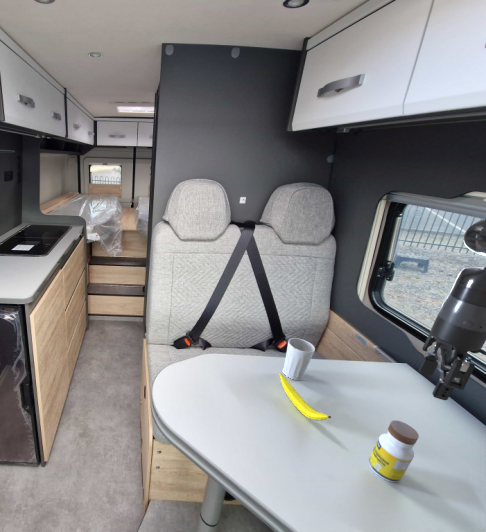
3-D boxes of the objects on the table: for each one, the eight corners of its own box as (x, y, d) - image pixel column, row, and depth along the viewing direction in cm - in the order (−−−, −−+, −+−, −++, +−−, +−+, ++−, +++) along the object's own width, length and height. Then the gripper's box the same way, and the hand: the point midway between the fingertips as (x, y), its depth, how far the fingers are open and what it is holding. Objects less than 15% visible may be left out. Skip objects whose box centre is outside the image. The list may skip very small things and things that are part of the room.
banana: (280, 384, 101) (284, 368, 99) (328, 433, 84) (335, 416, 82) (272, 385, 100) (277, 369, 98) (319, 435, 83) (326, 417, 81)
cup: (282, 363, 111) (290, 335, 107) (306, 372, 107) (316, 344, 103) (277, 375, 105) (286, 345, 101) (303, 385, 101) (313, 355, 97)
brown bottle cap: (412, 432, 72) (415, 426, 71) (418, 448, 67) (421, 443, 67) (385, 422, 74) (388, 417, 73) (390, 438, 70) (393, 432, 69)
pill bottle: (365, 453, 79) (381, 419, 75) (396, 465, 76) (414, 430, 72) (370, 475, 73) (388, 440, 69) (404, 489, 71) (424, 453, 67)
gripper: (511, 344, 53) (469, 415, 59) (473, 310, 65) (441, 372, 71) (454, 331, 56) (419, 399, 62) (427, 301, 68) (401, 361, 74)
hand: (431, 385), depth 67 cm, fingers open, 8 cm apart
